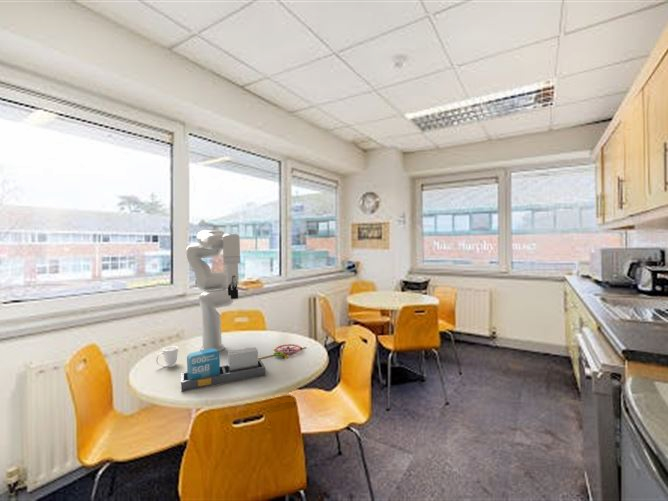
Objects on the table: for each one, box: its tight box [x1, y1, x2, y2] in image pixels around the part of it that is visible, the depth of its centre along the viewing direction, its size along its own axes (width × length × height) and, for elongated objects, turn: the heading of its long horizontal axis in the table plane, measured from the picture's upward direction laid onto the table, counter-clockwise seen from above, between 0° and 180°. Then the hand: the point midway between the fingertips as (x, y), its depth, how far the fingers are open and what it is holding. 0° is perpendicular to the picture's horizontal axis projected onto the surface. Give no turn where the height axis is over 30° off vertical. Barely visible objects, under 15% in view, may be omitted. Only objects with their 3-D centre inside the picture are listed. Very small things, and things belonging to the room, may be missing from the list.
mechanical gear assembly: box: [258, 343, 307, 360], centre depth 173 cm, size 30×4×15 cm
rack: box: [180, 346, 267, 392], centre depth 144 cm, size 11×33×11 cm, turn 114°
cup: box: [155, 345, 179, 368], centre depth 160 cm, size 7×10×8 cm
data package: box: [186, 348, 221, 380], centre depth 141 cm, size 12×4×12 cm, turn 126°
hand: (233, 296), depth 158 cm, fingers open, 9 cm apart
